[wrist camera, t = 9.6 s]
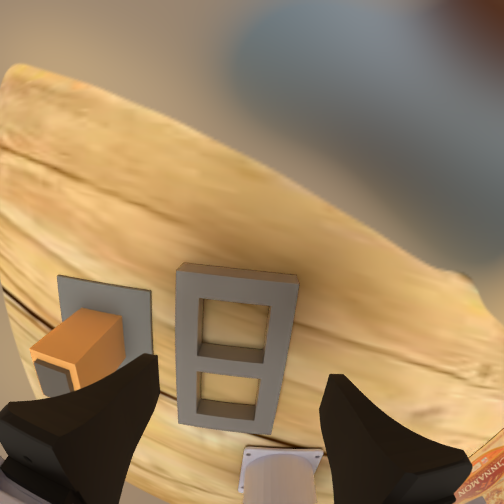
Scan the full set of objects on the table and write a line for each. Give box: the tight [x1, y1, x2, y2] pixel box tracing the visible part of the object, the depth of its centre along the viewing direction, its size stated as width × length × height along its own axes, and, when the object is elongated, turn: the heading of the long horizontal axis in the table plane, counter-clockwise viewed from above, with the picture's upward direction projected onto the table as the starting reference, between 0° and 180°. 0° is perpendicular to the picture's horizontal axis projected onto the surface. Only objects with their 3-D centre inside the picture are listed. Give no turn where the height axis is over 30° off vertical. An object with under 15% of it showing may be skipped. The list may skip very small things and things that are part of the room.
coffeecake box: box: [453, 429, 504, 504], centre depth 18 cm, size 15×7×20 cm, turn 131°
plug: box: [29, 308, 126, 397], centre depth 19 cm, size 4×4×8 cm
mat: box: [57, 275, 153, 371], centre depth 23 cm, size 9×9×1 cm
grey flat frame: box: [175, 263, 299, 435], centre depth 22 cm, size 14×8×2 cm, turn 174°
